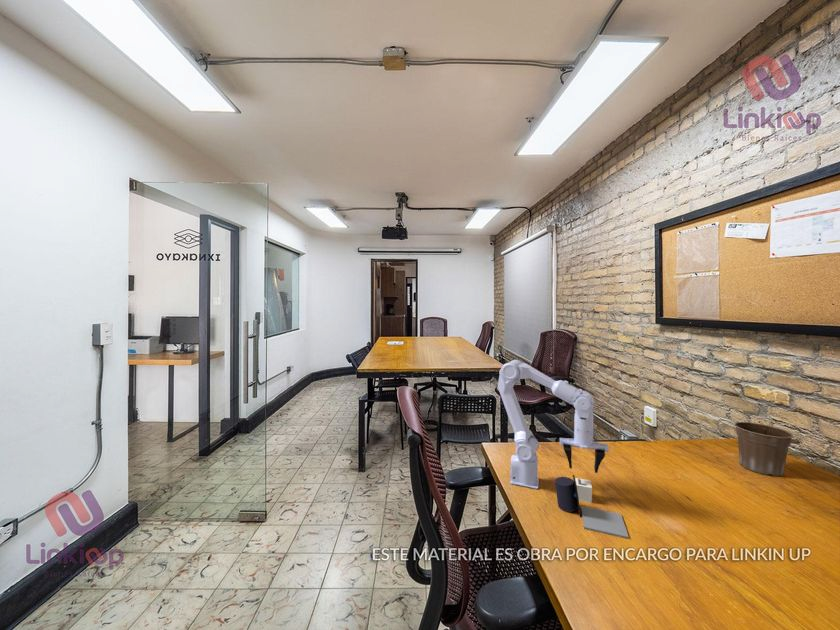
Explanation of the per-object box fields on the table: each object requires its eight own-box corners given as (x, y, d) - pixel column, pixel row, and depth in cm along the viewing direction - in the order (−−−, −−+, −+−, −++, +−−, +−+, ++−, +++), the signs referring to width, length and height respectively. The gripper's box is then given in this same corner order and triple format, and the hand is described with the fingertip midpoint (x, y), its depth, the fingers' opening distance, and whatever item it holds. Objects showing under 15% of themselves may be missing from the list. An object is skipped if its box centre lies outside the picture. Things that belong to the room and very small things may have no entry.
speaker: (585, 508, 104) (582, 475, 104) (581, 517, 99) (577, 483, 99) (560, 501, 108) (557, 470, 109) (555, 510, 104) (551, 477, 104)
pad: (584, 528, 94) (584, 526, 94) (580, 507, 104) (580, 505, 104) (628, 538, 90) (628, 537, 90) (620, 515, 100) (620, 513, 100)
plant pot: (796, 472, 128) (797, 431, 128) (788, 484, 119) (789, 440, 119) (739, 456, 142) (740, 419, 141) (728, 466, 133) (729, 426, 132)
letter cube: (574, 499, 109) (575, 484, 109) (573, 492, 113) (574, 477, 113) (591, 503, 107) (592, 487, 107) (590, 495, 112) (590, 479, 111)
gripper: (560, 430, 109) (559, 470, 109) (610, 436, 103) (609, 479, 104) (559, 423, 115) (559, 461, 115) (606, 429, 110) (606, 469, 110)
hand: (583, 469), depth 110 cm, fingers open, 7 cm apart
